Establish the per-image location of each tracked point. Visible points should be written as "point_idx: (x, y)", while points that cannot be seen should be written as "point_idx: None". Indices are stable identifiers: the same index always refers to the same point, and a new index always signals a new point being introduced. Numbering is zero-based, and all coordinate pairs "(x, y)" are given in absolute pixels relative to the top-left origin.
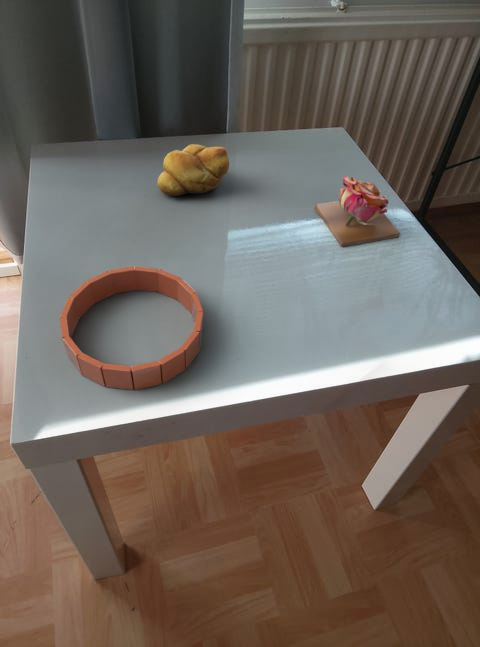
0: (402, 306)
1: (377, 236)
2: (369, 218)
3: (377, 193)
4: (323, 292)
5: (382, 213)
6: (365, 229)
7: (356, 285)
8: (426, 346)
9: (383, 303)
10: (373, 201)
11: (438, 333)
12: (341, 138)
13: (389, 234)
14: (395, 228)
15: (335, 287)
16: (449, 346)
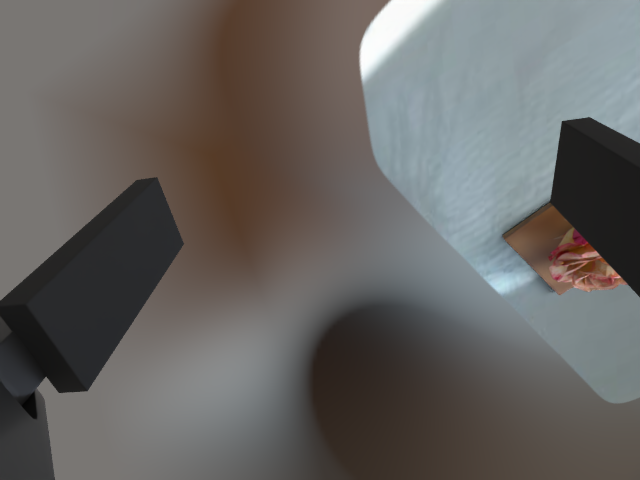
0: (481, 84)
1: (541, 215)
2: (575, 229)
3: (586, 271)
4: (627, 38)
5: (536, 268)
6: (562, 221)
7: (565, 90)
8: (432, 12)
9: (514, 73)
10: (593, 249)
11: (416, 55)
12: (607, 395)
13: (521, 229)
14: (512, 246)
15: (604, 64)
16: (396, 35)
